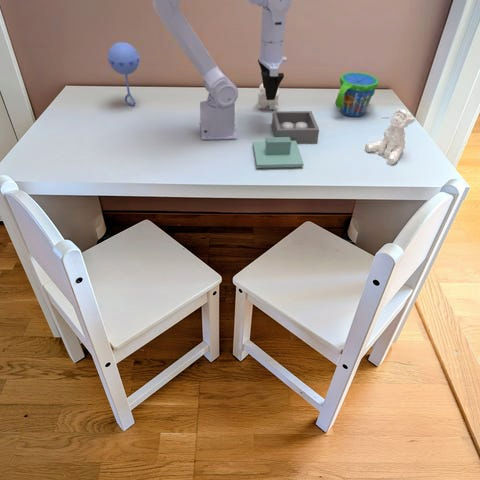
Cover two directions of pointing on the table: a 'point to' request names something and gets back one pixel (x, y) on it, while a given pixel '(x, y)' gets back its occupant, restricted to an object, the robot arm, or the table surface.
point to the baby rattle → (124, 62)
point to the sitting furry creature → (392, 137)
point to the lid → (277, 153)
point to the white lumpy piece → (264, 101)
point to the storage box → (295, 126)
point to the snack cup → (355, 93)
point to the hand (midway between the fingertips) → (268, 93)
